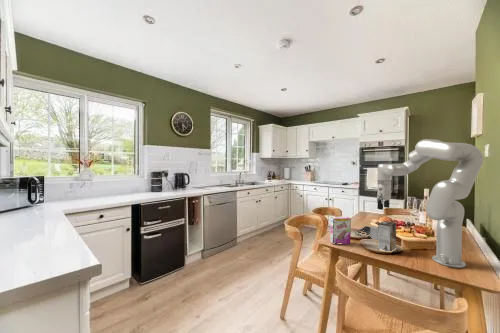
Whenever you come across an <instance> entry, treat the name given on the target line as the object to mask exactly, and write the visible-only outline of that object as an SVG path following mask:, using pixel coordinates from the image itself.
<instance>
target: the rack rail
mask: <svg viewBox="0 0 500 333" xmlns="http://www.w3.org/2000/svg"><path fill="white" fill-rule="evenodd" d="M370 227H371V226H363V227H362V228H360V229H358V230H357V232H358V233H361V232H359V231H363V230H364V231H363V232H366V233H367V234H366V235H369V234H370ZM362 234H365V233H362Z"/></svg>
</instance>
